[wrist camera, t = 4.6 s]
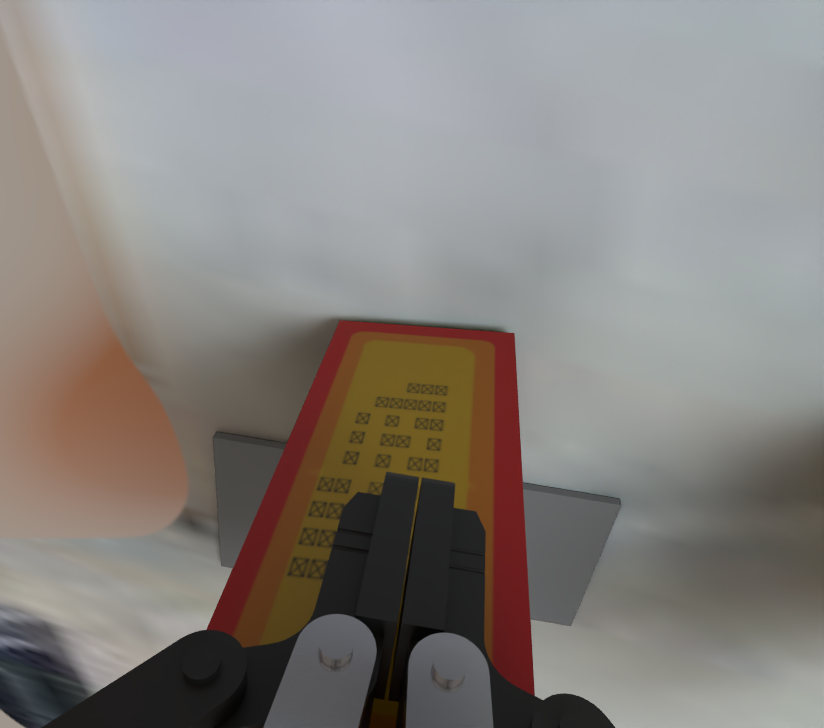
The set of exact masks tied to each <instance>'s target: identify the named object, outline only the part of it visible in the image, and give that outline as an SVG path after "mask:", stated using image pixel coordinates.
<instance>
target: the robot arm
mask: <svg viewBox="0 0 824 728" xmlns="http://www.w3.org/2000/svg"><path fill="white" fill-rule="evenodd" d="M418 482H419V477H417V476H411V475H405V474H399V473H393V472H386V475H385V479H384V484H383V489H382V493H381V495H375V494H369V493H363V492H357V493H356V494H355V495H354V497H353V498H352V499H351V500H350V501H349V502H348V503H347V504H346V505H345V506H344V507H343V510H342V514H341V517H340V521H339V525H338V528H337V532H336V535H335V539H334V542H333V547H332V549H331V553H330V556H329V560H328V563H327V567H326V571H325V574H324V578H323V581H322V585H321V588H320V592H319V595H318V599H317V602H316V606H315V609H314V612H313V614H312V616H311V618H310V620H309V621H308V622H307V624H306V625H305V626H304V627H303V628H302V629H301V630H300V631H299V632H297V633H296V634H294V635H293V636H291V637H289V638H287V639H285V640H283V641H280V642H276V643H272V644H265V645H258V646H251V647H244V648H243V647H242V645H241V644H240V642H239V641H238V640H237V639H236V638H234V637H233V636H231V635H230V634H227V633H225V632H222V631H218V630H202V631H198V632H194V633H191V634H189V635H187V636H185V637H183V638H181V639H179V640H178V641H176V642H175V643H173V644H172V645H170V646H169V647H167V648H165V649H164V650H162V651H161V652H159V653H158V654H156V655H154V656H153V657H151V658H150V659H148V660H147V661H145V662H143V663H142V664H140V665H139V666H137V667H136V668H134V669H133V670H131V671H129V672H128V673H126V674H125V675H123V676H122V677H120V678H118V679H117V680H115V681H114V682H112V683H111V684H109V685H108V686H106V687H104V688H103V689H101V690H100V691H98V692H97V693H95V694H93V695H92V696H90V697H89V698H87V699H86V700H84V701H83V702H81V703H79V704H78V705H76V706H75V707H73V708H72V709H70V710H68V711H67V712H65V713H64V714H62V715H61V716H59V717H57V718H56V719H54V720H53V721H51V722H50V723H48V724H47V725H45V726H43V727H42V728H369V726H370V720H371V714H372V708H373V702H374V698H377V699H382V700H384V699H385V693H386V687H387V681H388V676H389V670H390V664H391V658H392V652H393V647H394V641H395V635H396V629H397V623H398V617H399V610H400V603H401V597H402V590H403V583H404V576H405V570H406V563H407V556H408V549H409V543H410V536H411V529H412V522H413V516H414V509H415V502H416V496H417V489H418ZM454 496H455V483H454V482H448V481H442V480H436V479H430V478H424V477H422V481H421V486H420V492H419V498H418V504H417V510H416V516H415V521H414V527H413V533H412V539H411V546H410V552H409V559H408V566H407V573H406V580H405V587H404V593H403V600H402V607H401V614H400V621H399V628H398V635H397V641H396V648H395V655H394V662H393V669H392V676H391V683H390V689H389V696H388V700H390V701H395V702H399V705H398V712H397V720H396V728H615V726H614V725H613V724H612V723H611V722H610V720H609V719H608V718H607V717H606V716H605V714H604V713H603V712H602V711H601V710H600V709H599V708H597V707H596V706H595V705H594V704H592V703H591V702H589V701H588V700H586V699H584V698H582V697H579V696H576V695H572V694H556V695H552V696H550V697H548V698H546V699H545V700H541V699H539V698H538V697H536V696H534V695H532V694H530V693H528V692H526V691H524V690H522V689H520V688H518V687H517V686H515V685H513V684H512V683H510V682H509V681H508V680H506V679H505V678H504V677H503V676H502V675H501V674H500V673H499V672H498V671H497V670H496V668H495V667H494V666H493V664H492V662H491V661H490V659H489V657H488V654H487V652H486V648H485V641H484V620H485V548H486V531H485V529H484V527H483V525H482V523H481V521H480V518H479V516H478V514H477V512H476V511H471V510H465V509H459V508H454Z"/></svg>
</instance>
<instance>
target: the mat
mask: <svg viewBox="0 0 824 728" xmlns="http://www.w3.org/2000/svg"><path fill="white" fill-rule="evenodd" d="M213 446H214V462H215V477H216V492H217V508H218V523H219V539H220V554H221V566H224V567H230V568H233V567H234V565H235V563H236V560H237V558H238V556H239V553H240V551H241V549H242V546H243V544H244V542H245V539H246V537H247V535H248V532H249V530H250V528H251V525H252V523H253V521H254V518H255V516H256V514H257V511H258V509H259V507H260V505H261V502H262V500H263V498H264V495H265V493H266V491H267V488H268V486H269V484H270V481H271V479H272V477H273V474H274V472H275V470H276V467H277V465H278V463H279V460H280V458H281V456H282V454H283V451H284V449H285V447H286V443H280V442H274V441H268V440H262V439H256V438H250V437H244V436H238V435H232V434H226V433H220V432H216V433H215V435H214V437H213ZM523 497H524V515H525V533H526V550H527V568H528V586H529V604H530V619H532V620H538V621H544V622H550V623H556V624H561V625H567V626H571V625H572V622H573V620H574V618H575V615H576V613H577V610H578V608H579V606H580V603H581V601H582V598H583V596H584V594H585V591H586V589H587V586H588V584H589V582H590V579H591V577H592V574H593V572H594V570H595V567H596V565H597V562H598V560H599V558H600V555H601V553H602V550H603V548H604V546H605V543H606V541H607V538H608V536H609V534H610V531H611V529H612V526H613V524H614V522H615V519H616V517H617V514H618V512H619V510H620V507H621V502H620V499H617V498H611V497H605V496H599V495H593V494H587V493H581V492H575V491H569V490H563V489H557V488H551V487H545V486H539V485H533V484H527V483H523Z"/></svg>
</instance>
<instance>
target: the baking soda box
mask: <svg viewBox="0 0 824 728" xmlns="http://www.w3.org/2000/svg"><path fill="white" fill-rule="evenodd" d="M386 472H393V473H399V474H405V475H411V476H417V477H419V482H418V489H417V496H416V502H415V509H414V516H413V522H412V529H411V536H410V543H409V549H408V556H407V563H406V570H405V576H404V583H403V590H402V597H401V603H400V610H399V617H398V623H397V629H396V635H395V641H394V647H393V652H392V658H391V664H390V670H389V676H388V681H387V687H386V693H385V699H384V700H382V699H377V698H374V702H373V708H372V714H371V720H370V726H369V728H396V720H397V712H398V705H399V702H395V701H390V700H388V696H389V689H390V683H391V676H392V669H393V662H394V655H395V648H396V641H397V635H398V628H399V621H400V614H401V607H402V600H403V593H404V587H405V580H406V573H407V566H408V559H409V552H410V546H411V539H412V533H413V527H414V521H415V516H416V510H417V504H418V498H419V492H420V486H421V481H422V477H424V478H430V479H436V480H442V481H448V482H454V483H455V496H454V508H459V509H465V510H471V511H476V512H477V514H478V516H479V518H480V521H481V523H482V525H483V527H484V529H485V531H486V548H485V620H484V641H485V648H486V652H487V654H488V657H489V659H490V661H491V662H492V664H493V666H494V667H495V668H496V670H497V671H498V672H499V673H500V674H501V675H502V676H503V677H504V678H505V679H506V680H508V681H509V682H510V683H512V684H513V685H515V686H517V687H518V688H520V689H522V690H524V691H526V692H528V693H530V694H532V695H534V696H535V693H534V675H533V657H532V640H531V622H530V604H529V586H528V568H527V550H526V533H525V515H524V497H523V479H522V461H521V443H520V426H519V408H518V390H517V372H516V354H515V337H514V333H505V332H491V331H477V330H464V329H450V328H437V327H423V326H410V325H396V324H382V323H369V322H355V321H342V320H340V321H339V324H338V326H337V328H336V331H335V333H334V335H333V338H332V340H331V342H330V344H329V347H328V349H327V351H326V354H325V356H324V358H323V361H322V363H321V365H320V368H319V370H318V372H317V375H316V377H315V379H314V382H313V384H312V386H311V389H310V391H309V393H308V396H307V398H306V400H305V402H304V405H303V407H302V409H301V412H300V414H299V416H298V419H297V421H296V423H295V426H294V428H293V430H292V433H291V435H290V437H289V440H288V442H287V444H286V447H285V449H284V451H283V454H282V456H281V458H280V460H279V463H278V465H277V467H276V470H275V472H274V474H273V477H272V479H271V481H270V484H269V486H268V488H267V491H266V493H265V495H264V498H263V500H262V502H261V505H260V507H259V509H258V511H257V514H256V516H255V518H254V521H253V523H252V525H251V528H250V530H249V532H248V535H247V537H246V539H245V542H244V544H243V546H242V549H241V551H240V553H239V556H238V558H237V560H236V563H235V565H234V567H233V569H232V572H231V574H230V576H229V579H228V581H227V583H226V586H225V588H224V590H223V593H222V595H221V597H220V600H219V602H218V604H217V607H216V609H215V611H214V614H213V616H212V618H211V621H210V623H209V625H208V627H207V630H218V631H222V632H225V633H227V634H230V635H231V636H233V637H234V638H236V639H237V640H238V641H239V642H240V644H241V645H242V647H243V648H244V647H251V646H258V645H265V644H272V643H276V642H280V641H283V640H285V639H287V638H289V637H291V636H293V635H294V634H296V633H297V632H299V631H300V630H301V629H302V628H303V627H304V626H305V625H306V624H307V622H308V621H309V620H310V618H311V616H312V614H313V612H314V609H315V606H316V602H317V599H318V595H319V592H320V588H321V585H322V581H323V578H324V574H325V571H326V567H327V563H328V560H329V556H330V553H331V549H332V547H333V542H334V539H335V535H336V532H337V528H338V525H339V521H340V517H341V514H342V510H343V507H344V506H345V505H346V504H347V503H348V502H349V501H350V500H351V499H352V498H353V497H354V495H355V494H356V493H357V492H363V493H369V494H375V495H381V493H382V489H383V484H384V479H385V475H386Z"/></svg>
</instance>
